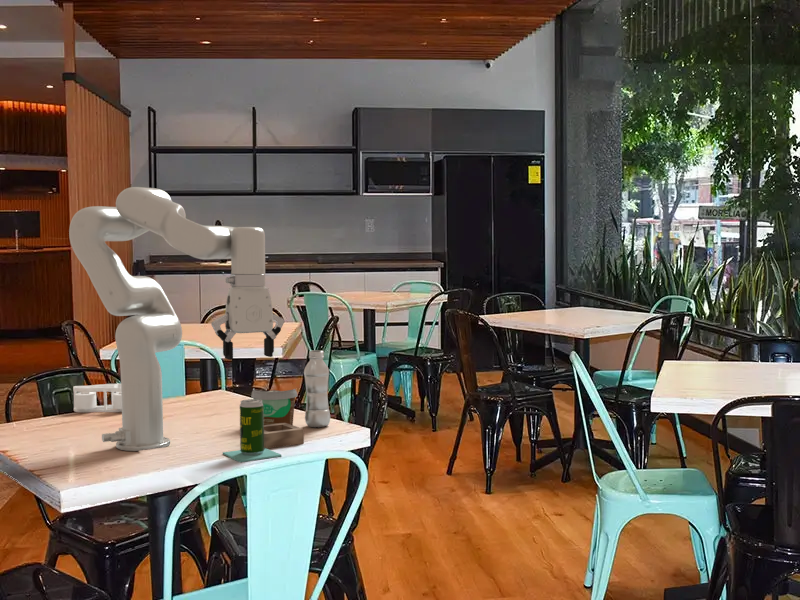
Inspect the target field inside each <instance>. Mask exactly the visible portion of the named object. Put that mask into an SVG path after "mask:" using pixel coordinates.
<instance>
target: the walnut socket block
mask: <svg viewBox="0 0 800 600" xmlns="http://www.w3.org/2000/svg"><path fill="white" fill-rule="evenodd" d="M304 432H305V429H304V428H302V427H299V426H296V425H294V424H293V425H290V424H288V423H279V424H270V425H264V448H266V449H274V448H281V447H289V446H296V445H297V446H298V445H303V444H304V443H305V435H304V434H305V433H304Z"/></svg>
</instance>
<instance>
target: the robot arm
mask: <svg viewBox="0 0 800 600" xmlns="http://www.w3.org/2000/svg"><path fill="white" fill-rule="evenodd" d="M186 217H187V215H186V211H185V209H184V207H183V206H182V205H181V204H180V203H177V202H174V201H173V200H172V198H171V196H170V195H169V194H168V192H166V191H165V190H162V189H159V188H155V187H143V186H142V187H141V186H132V187H127V188H125V189H123V190H121V192H120V193H119V194H118V195H117V197H116V200H115V206H104V205H103V206H101V205H97V206H96V205H94V206H88V207H87V206H86V207H83V208H80V209H79V210H78V211H77V212H75V213H74V215H73V216H72V218H71V221H70V224H69V229H68V232H69V233H68V234H69V235H68V236H69V237H68V238H69V243H70V246H71V248H72V251H73V252H74V254H75V256H76V258H77V259H78V261H79V262H80V264H81V265H82V266H83V268H84V270H85V271H86V273H87V275H88V277H89V279H90V281H91V284H92V285H93V287H94V289H95V291H96V293H97V295H98V297H99V298H100V300H101V303H102V304H103V306H104V307H105V309H106V311H107V313H109V314H110V315H112V316H115V317H124V316H127V318H125V319H123V320H122V321H121V322H119V323H118V325H117V328H116V330H115V334H114V335H115V336H114V337H115V345H116V349H117V353H118V358H119V359H118V360H119V366H120V367H119V368H120V384H121V395H122V412H121V422H122V423H121V424H122V425H121V427H119V428H118V430H116V431H114V432H113V433H112V432H111V433H110V432H108V433H102V434H101V441H102V442H103V443H105V442H106V443H107V442H111V443H115V447H116V449H118V450H121V451H127V452H139V451H146V450H155V449H163V448H166V447H169V446H170V444H171V439H170V438H168V437H165V436H164V412H163V411H164V410H163V409H164V406H163V402H164V401H163V373H162V368H161V365H160V361H159V360H158V357H157V355H156V353H161V352H168V351H171V350H173V349H175V348H177V346H179V344H180V343H181V341H182V339H183V330H182V329H183V328H182V324H181V321H180V319H179V317H178V315H177V314H176V312H175V309H174V308H173V306H172V304H171V303H170V300H169V299H168V296H167V294H166V293H165V291H164V290H163V289H164V288H162V286H161V285H160V284H159V282H158V281H156V280H155V279H153V278H152V277H149V276H145V275H131V274H130V273H129V272H128V270H127V268H126V267H125V265H124V263H123V261H122V260H121V258H120V256H119V255H118V254H117V253H116V252H115V251H114V250H113V249H112V248H111V247H109V246H108V244H107V243H106V242H126V241H131V240H134V239H136V238H138V237H140V236H142V235H143V234H145V233H146V234H147V232H152V233H154V234H155V235H157V236H160V237H162V238H163V239H164V241H165V242H166V244H168V245H169V246H170V247H172V248H173V249H175V250H176V251H179V252H181V253H183V254H185V255H188V256H190V257H192V258H195V259H199V260H229V259H230V261H231V265H230V266H231V272H230V276H228V277H226V278H225V283H226V284H229V285H230V286H231V287H230V288H228V292H227V295H226V296H227V297H226V303H225V313H224V315H222V316H220V317H219V318H217V319H214V320H213V321H212V322H211V323H210V324H211V327H212V329H213V330H214V333H215V334H216V336H217V338H219V339H220V341H222V355H223V356H224V359H226V360H228V361H229V360H230V361H232V360H233V359H234V343H233V341H232V339H233V338H234V336H235V335H236V334H252V333H255V334H256V333H262V334H263V335H264V336H265V338H264V340H263V354H264V356H265V357H268V358H272V357H273V354H274V353H275V340H276V339H277V336H278V335H279V333H280V332H281V331H282V327H283V326H284V323H285V319H284V318H282V317H281V316H279V315H277V314H275V313H273V304H272V297H271V292H270V288H269V287H266V235H265V234H266V233H265V231H264V229H263V228H262V227H257V226H238V227H235V226H228V225H204V224H200V223H197V222H195V221H193V220H191V219H188V218H186ZM128 316H129V317H128ZM274 322H275V323H274ZM223 324H224V327H225V331H223V330H222V327H221V325H223ZM274 324H275V326H274Z"/></svg>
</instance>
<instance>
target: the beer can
mask: <svg viewBox="0 0 800 600" xmlns="http://www.w3.org/2000/svg"><path fill="white" fill-rule="evenodd" d="M239 437H240V438H239V439H240V440H239V443H240V444H239V445H240V448H239V450H241V453H242V454H243V455H247V456H254V455H260V454H262V453H263V452H264V409H263V403H262V400H259V399H254V398H251V399H250V398H248V399H243V400H240V404H239Z"/></svg>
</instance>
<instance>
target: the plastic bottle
mask: <svg viewBox="0 0 800 600" xmlns="http://www.w3.org/2000/svg"><path fill="white" fill-rule="evenodd" d="M324 353H325V352H324V350H321V349H320V350H317V349H314V350H309V353H308V359H309V361H308V362H307V364H306V365H305V367H304V370H303V375H304V382H305V392H306V405H305V406H306V407H305V408H306V409H305V413H304V420H305V421H304V422H305V424H306V425H307V426H308V427H311V428H316V427H318V428H323V427H326V426H329V424H330V422H331V414H330V413H331V411H330V408H329V400H328V398H329V397H328V390H329V389H328V386H329V378H330V377H329V375H330V369H329V367H328V365H327V364H326V362H325V361H324V358H325V356H324V355H325V354H324Z"/></svg>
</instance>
